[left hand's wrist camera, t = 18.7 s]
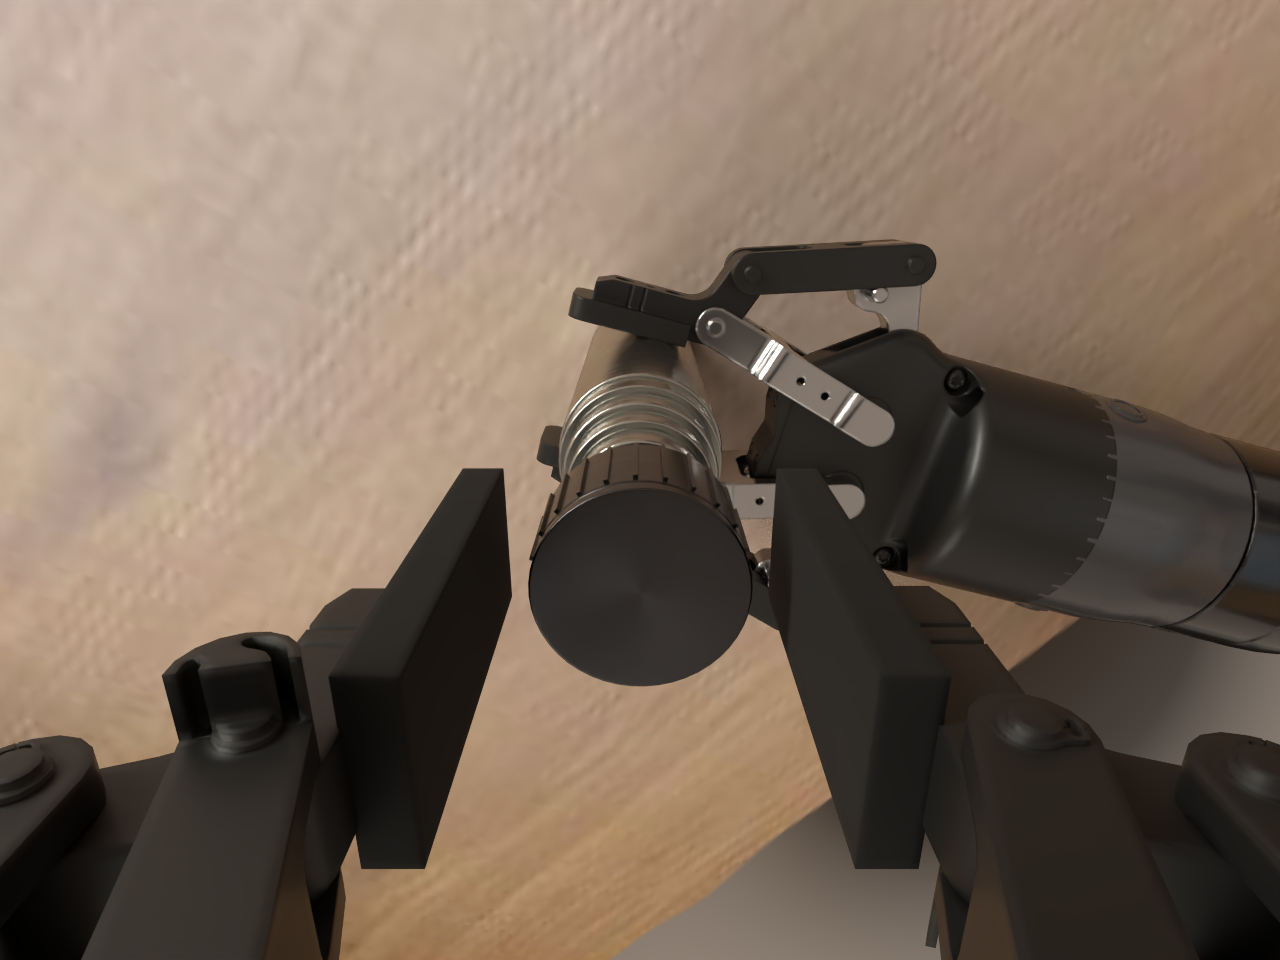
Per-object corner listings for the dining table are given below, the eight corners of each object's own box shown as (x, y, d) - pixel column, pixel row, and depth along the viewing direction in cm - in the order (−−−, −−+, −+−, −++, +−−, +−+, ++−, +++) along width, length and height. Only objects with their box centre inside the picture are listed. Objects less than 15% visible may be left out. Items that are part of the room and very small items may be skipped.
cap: (500, 523, 14) (477, 580, 12) (653, 399, 14) (655, 437, 11) (628, 652, 16) (627, 726, 13) (778, 545, 15) (801, 605, 12)
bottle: (682, 413, 31) (736, 687, 14) (584, 399, 31) (511, 661, 14) (699, 313, 30) (782, 478, 12) (595, 298, 30) (531, 445, 12)
